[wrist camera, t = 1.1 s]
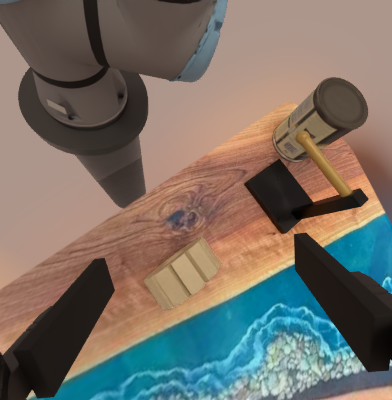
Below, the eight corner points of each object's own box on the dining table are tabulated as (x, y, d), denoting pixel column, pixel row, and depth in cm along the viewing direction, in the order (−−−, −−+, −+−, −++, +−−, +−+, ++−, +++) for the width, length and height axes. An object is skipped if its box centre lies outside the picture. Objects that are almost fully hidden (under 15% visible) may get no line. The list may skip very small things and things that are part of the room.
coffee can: (313, 131, 51) (370, 90, 38) (308, 168, 48) (367, 136, 35) (276, 116, 50) (320, 67, 37) (268, 153, 47) (314, 114, 34)
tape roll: (145, 275, 36) (141, 285, 26) (194, 238, 40) (209, 234, 29) (161, 299, 36) (164, 320, 25) (210, 260, 39) (230, 264, 29)
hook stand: (239, 178, 44) (282, 142, 30) (271, 156, 47) (325, 113, 33) (281, 234, 43) (347, 225, 28) (311, 207, 46) (385, 187, 31)
